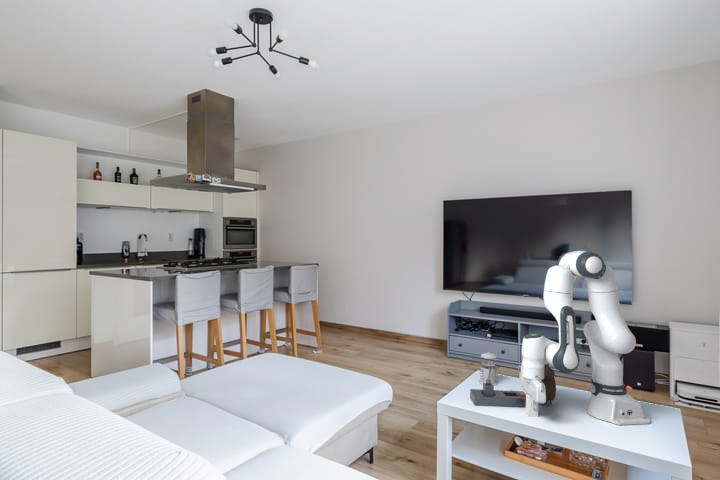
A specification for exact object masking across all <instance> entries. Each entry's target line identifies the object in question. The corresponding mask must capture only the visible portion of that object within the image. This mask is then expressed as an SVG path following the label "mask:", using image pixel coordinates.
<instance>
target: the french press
mask: <svg viewBox="0 0 720 480" xmlns="http://www.w3.org/2000/svg"><path fill="white" fill-rule="evenodd" d="M486 336H487V337H488V338H491V337H492V335H491V333H488V334H487V335H486ZM480 357H481V358H483V359H486V360H487V361H482V362H481V365H480V375H479V376H480V379H479V380H478V384H480V385H481V386H483V383H486V380H487V379H489V380H491V384H493V386H494V387H496V386H498V385H499V383H498V382H497V366H496V363H494V362H493V361H490V360H495V359H497V358H498V357H497V355H496V354H494V353H491V352H483V353H481V354H480Z"/></svg>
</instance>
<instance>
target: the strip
mask: <svg viewBox="0 0 720 480" xmlns="http://www.w3.org/2000/svg"><path fill="white" fill-rule="evenodd" d="M469 392H470V393H469V396H470V397H469V398H470V400H471V402H472V404H473V405H474V407H475V406H476V407H496V408H499V407H500V408H520V409H521V408H525V409H526V392H525V391H524V390H522V391H521V390H501V389H500V390H499V389H498V390H497V389H496V390H495V389H494V395H483V389H476V388H475V389H474V388H471V389H470V391H469Z"/></svg>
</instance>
